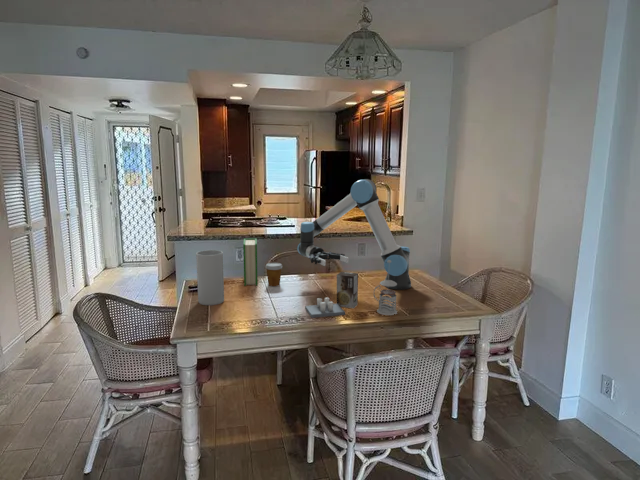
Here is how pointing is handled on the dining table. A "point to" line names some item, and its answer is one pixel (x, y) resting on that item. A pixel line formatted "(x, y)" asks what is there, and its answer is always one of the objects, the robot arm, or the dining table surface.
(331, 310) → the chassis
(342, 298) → the coffee box
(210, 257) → the cylinder vase
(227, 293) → the dining table surface
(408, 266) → the robot arm
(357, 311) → the dining table surface
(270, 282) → the disposable coffee cup
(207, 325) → the dining table surface
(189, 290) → the dining table surface
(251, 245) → the hardback book
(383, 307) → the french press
